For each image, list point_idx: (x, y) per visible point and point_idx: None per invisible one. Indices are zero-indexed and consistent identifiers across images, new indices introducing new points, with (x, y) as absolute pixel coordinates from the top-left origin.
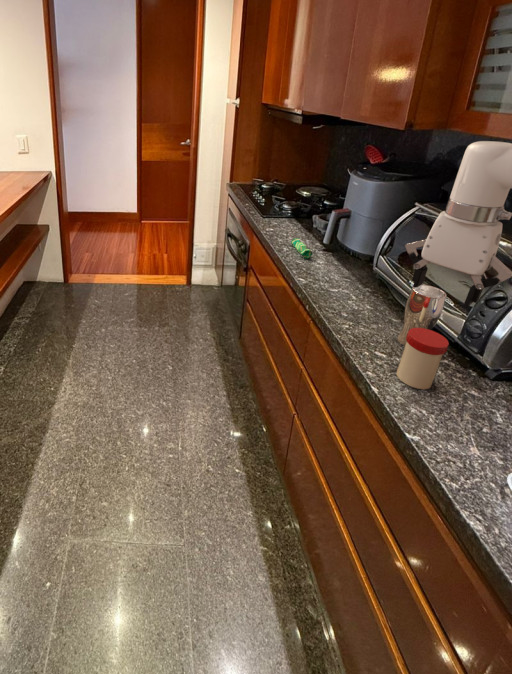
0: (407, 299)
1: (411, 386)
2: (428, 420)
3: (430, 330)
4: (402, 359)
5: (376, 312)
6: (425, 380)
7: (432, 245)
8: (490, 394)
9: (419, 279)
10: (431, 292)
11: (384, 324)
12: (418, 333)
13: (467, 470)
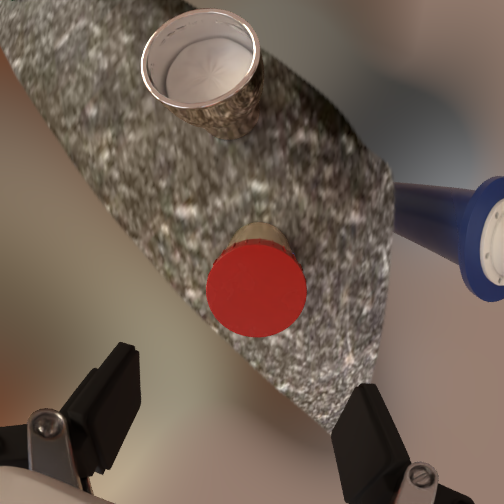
0: (158, 88)
1: None
2: (295, 346)
3: (255, 247)
4: None
5: (143, 45)
6: None
7: None
8: (377, 201)
9: (124, 437)
10: (211, 21)
11: None
12: (230, 292)
13: (339, 393)
